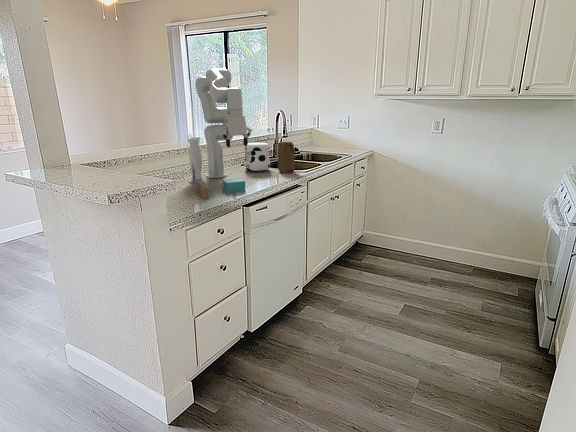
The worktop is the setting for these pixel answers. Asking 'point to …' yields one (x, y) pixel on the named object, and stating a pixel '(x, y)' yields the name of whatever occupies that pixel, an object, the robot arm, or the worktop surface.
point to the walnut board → (202, 188)
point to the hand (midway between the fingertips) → (237, 146)
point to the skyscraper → (195, 159)
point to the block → (286, 157)
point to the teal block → (234, 185)
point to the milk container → (257, 157)
